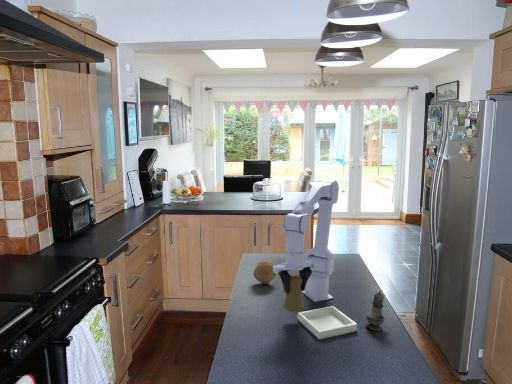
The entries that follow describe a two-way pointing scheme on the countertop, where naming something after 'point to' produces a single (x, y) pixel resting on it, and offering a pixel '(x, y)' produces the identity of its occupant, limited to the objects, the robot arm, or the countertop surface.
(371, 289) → the countertop surface
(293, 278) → the cork
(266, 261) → the natural sponge
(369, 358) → the countertop surface
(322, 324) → the tray
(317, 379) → the countertop surface
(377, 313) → the gray chess piece
